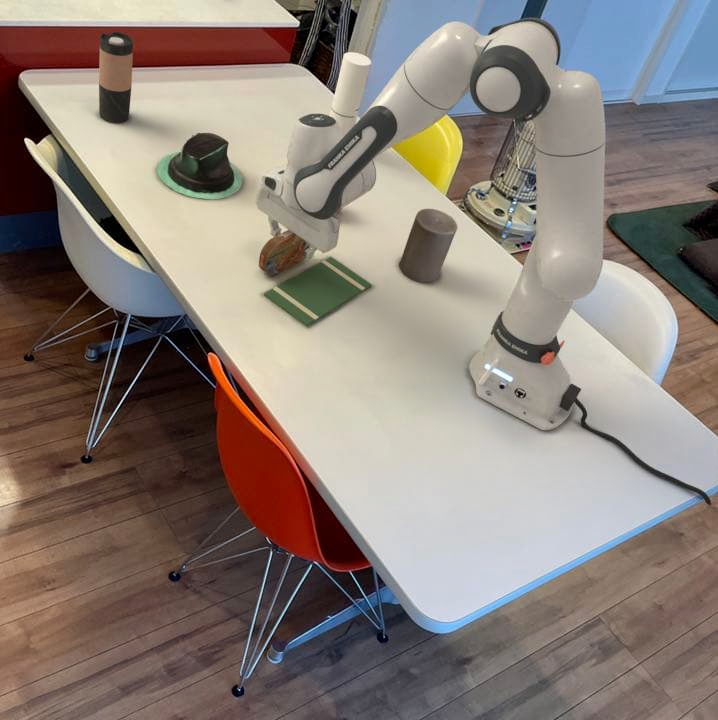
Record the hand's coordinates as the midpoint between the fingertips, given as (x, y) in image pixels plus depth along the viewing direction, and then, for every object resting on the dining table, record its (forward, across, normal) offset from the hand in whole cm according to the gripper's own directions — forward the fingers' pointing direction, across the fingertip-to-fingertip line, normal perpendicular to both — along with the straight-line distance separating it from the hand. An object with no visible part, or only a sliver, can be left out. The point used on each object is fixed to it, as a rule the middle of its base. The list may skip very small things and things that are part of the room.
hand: (291, 246), depth 166 cm
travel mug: (+5, +67, -8) cm, 68 cm away
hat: (+5, +36, -9) cm, 38 cm away
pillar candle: (+6, -18, -26) cm, 32 cm away
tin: (+6, +1, 0) cm, 6 cm away
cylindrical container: (+6, +28, -52) cm, 59 cm away
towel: (+6, -10, 0) cm, 11 cm away
